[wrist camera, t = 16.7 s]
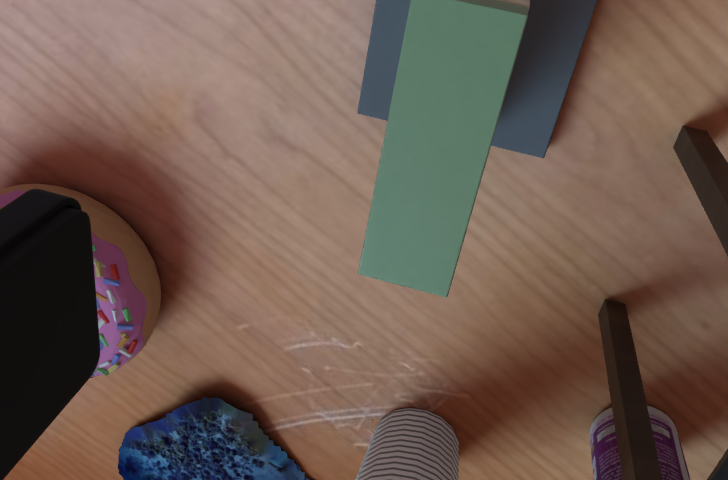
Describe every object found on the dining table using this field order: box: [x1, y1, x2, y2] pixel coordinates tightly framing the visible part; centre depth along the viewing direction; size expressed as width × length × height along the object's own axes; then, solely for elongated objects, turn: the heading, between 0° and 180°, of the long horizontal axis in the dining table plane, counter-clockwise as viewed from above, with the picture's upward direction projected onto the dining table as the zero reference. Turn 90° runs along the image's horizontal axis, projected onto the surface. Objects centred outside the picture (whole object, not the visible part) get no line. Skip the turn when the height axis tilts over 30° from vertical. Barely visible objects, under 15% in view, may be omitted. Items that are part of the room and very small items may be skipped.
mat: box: [358, 0, 597, 158], centre depth 32 cm, size 10×10×1 cm
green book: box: [358, 0, 530, 297], centre depth 25 cm, size 9×3×15 cm, turn 170°
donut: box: [0, 184, 161, 378], centre depth 44 cm, size 14×14×5 cm
